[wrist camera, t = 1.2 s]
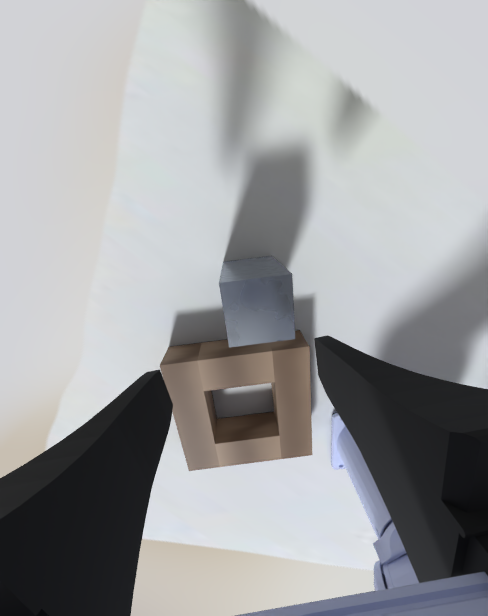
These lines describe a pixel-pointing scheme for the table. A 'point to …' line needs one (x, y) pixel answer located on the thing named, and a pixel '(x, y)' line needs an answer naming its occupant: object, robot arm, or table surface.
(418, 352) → the table surface
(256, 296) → the steel peg
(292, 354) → the socket block
